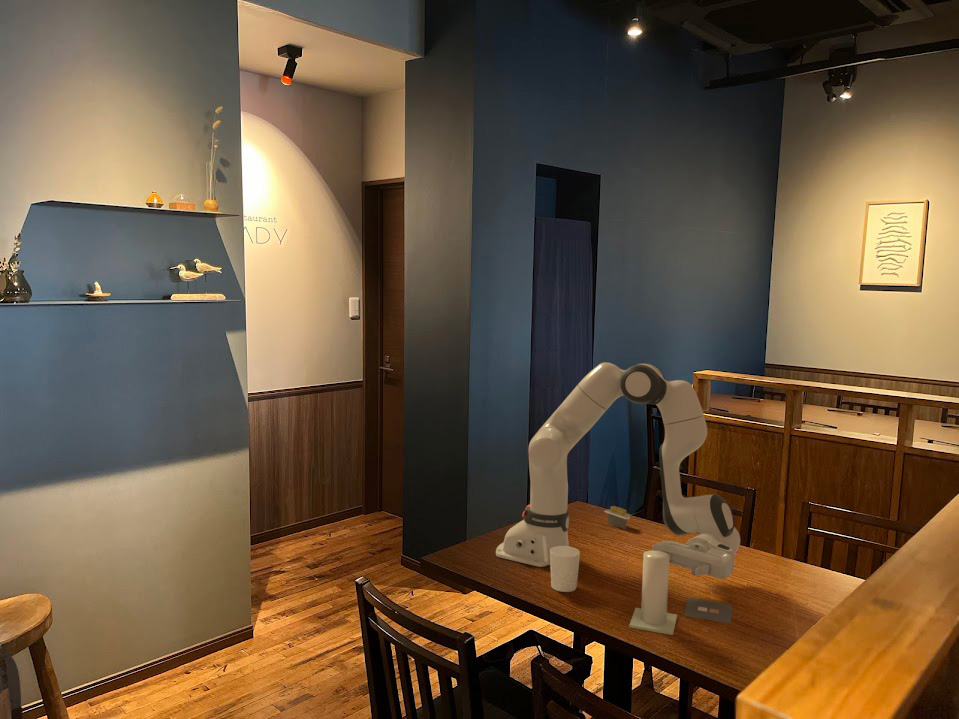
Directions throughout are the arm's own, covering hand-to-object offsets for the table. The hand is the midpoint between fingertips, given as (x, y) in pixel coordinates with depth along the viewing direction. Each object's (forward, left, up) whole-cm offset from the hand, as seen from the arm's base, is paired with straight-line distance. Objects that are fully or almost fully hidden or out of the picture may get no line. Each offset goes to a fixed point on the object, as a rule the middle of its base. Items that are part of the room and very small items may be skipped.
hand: (676, 566), depth 179 cm
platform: (-24, +59, -12) cm, 64 cm away
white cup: (-29, +3, -11) cm, 31 cm away
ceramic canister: (-4, -9, -10) cm, 14 cm away
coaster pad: (-4, -9, -11) cm, 15 cm away
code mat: (+8, +3, -11) cm, 14 cm away
